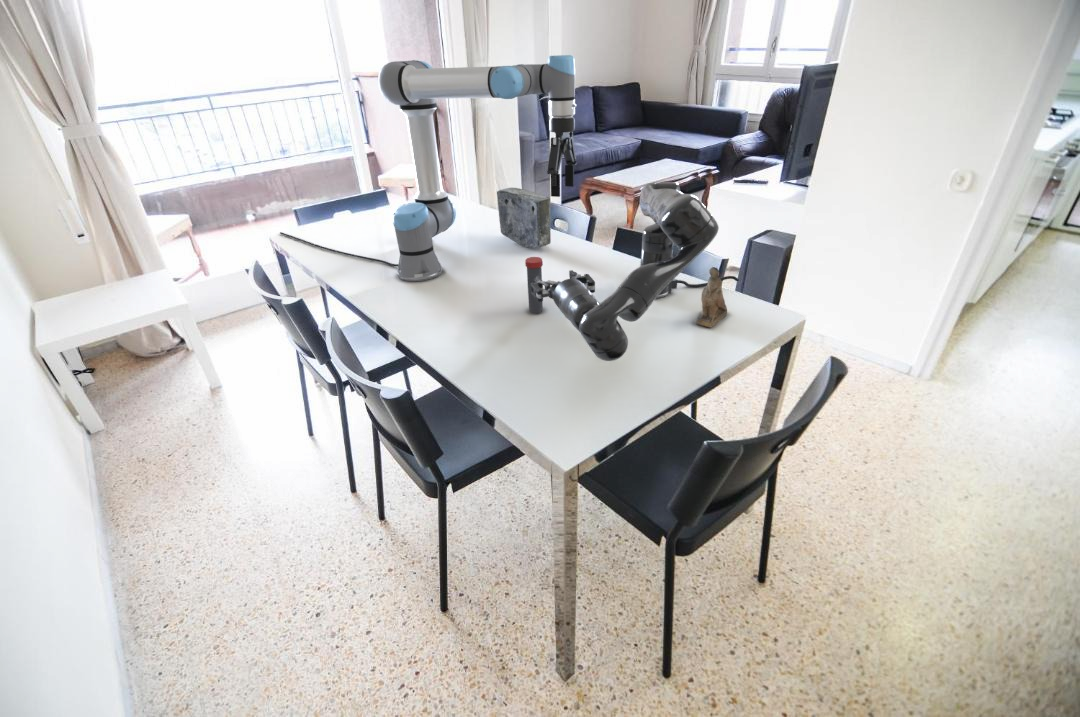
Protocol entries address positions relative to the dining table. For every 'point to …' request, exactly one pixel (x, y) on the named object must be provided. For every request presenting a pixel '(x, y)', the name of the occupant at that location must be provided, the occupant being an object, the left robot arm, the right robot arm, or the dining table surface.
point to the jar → (534, 305)
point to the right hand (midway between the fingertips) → (554, 276)
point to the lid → (533, 262)
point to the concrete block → (524, 217)
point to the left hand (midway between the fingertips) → (562, 191)
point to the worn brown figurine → (712, 301)
